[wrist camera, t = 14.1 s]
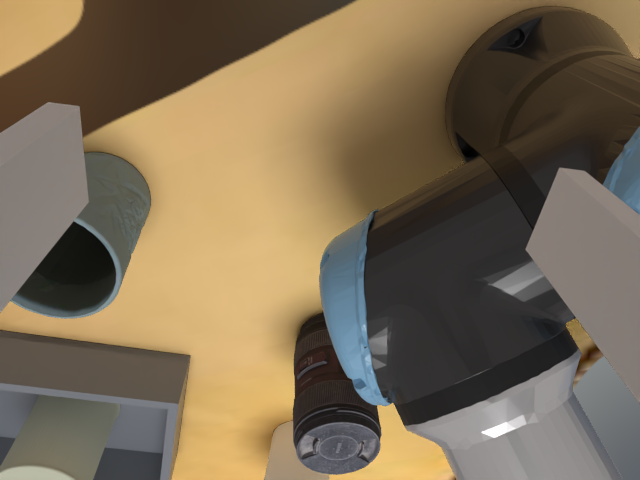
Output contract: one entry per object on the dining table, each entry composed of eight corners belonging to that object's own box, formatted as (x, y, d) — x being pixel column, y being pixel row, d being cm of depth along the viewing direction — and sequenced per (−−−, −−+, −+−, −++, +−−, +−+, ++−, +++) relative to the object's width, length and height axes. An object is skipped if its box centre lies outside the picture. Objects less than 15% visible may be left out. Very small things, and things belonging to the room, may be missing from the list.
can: (34, 417, 61) (-19, 515, 50) (45, 366, 56) (-10, 462, 46) (111, 434, 63) (76, 532, 53) (128, 386, 59) (93, 482, 48)
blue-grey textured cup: (177, 220, 49) (146, 296, 39) (87, 253, 50) (34, 335, 40) (119, 126, 44) (66, 185, 33) (21, 166, 45) (-59, 234, 35)
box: (190, 355, 58) (178, 404, 52) (177, 452, 67) (165, 503, 61) (-35, 325, 54) (-75, 374, 48) (-17, 432, 63) (-49, 485, 57)
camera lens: (292, 360, 59) (291, 478, 46) (294, 307, 55) (294, 420, 42) (360, 361, 60) (378, 477, 47) (367, 308, 55) (389, 420, 43)
